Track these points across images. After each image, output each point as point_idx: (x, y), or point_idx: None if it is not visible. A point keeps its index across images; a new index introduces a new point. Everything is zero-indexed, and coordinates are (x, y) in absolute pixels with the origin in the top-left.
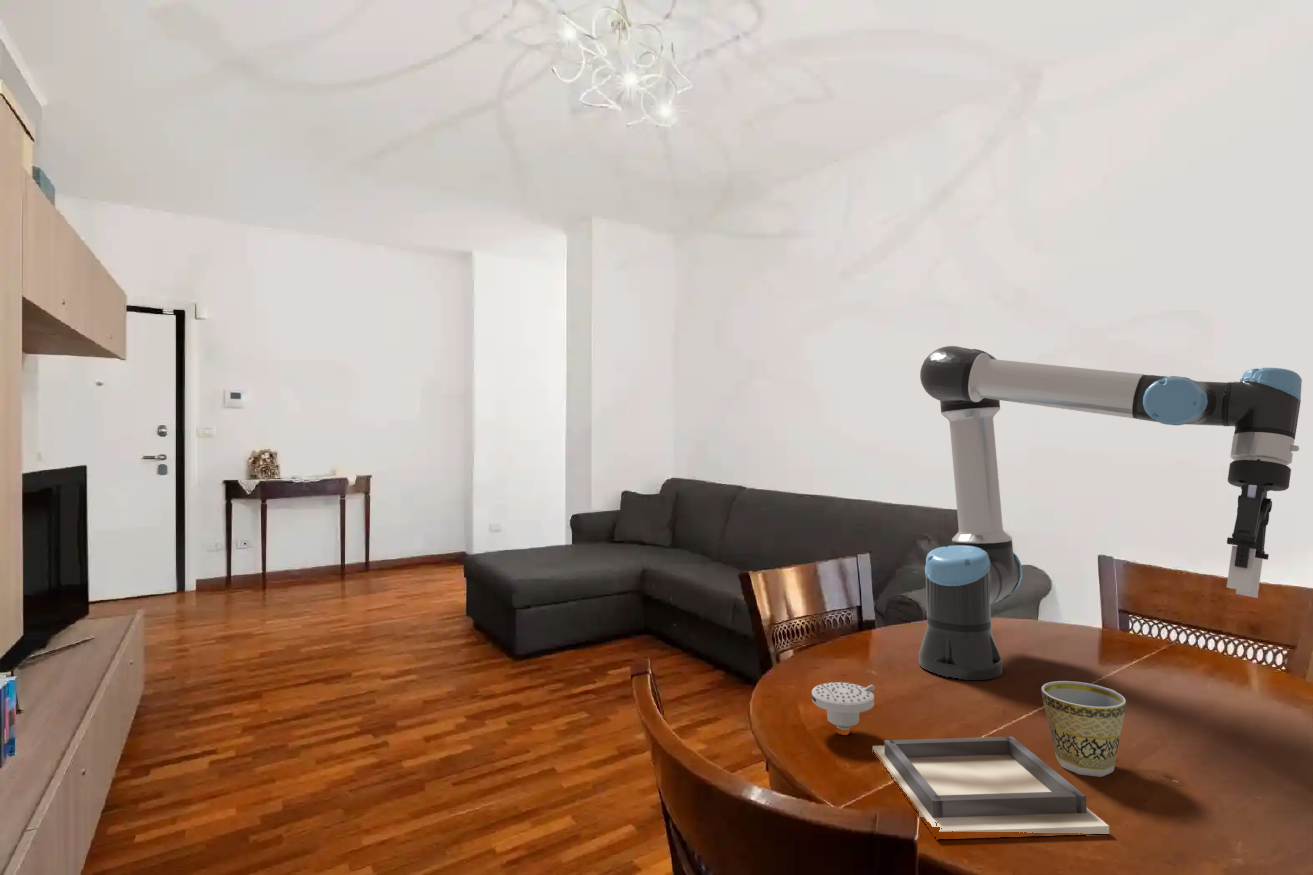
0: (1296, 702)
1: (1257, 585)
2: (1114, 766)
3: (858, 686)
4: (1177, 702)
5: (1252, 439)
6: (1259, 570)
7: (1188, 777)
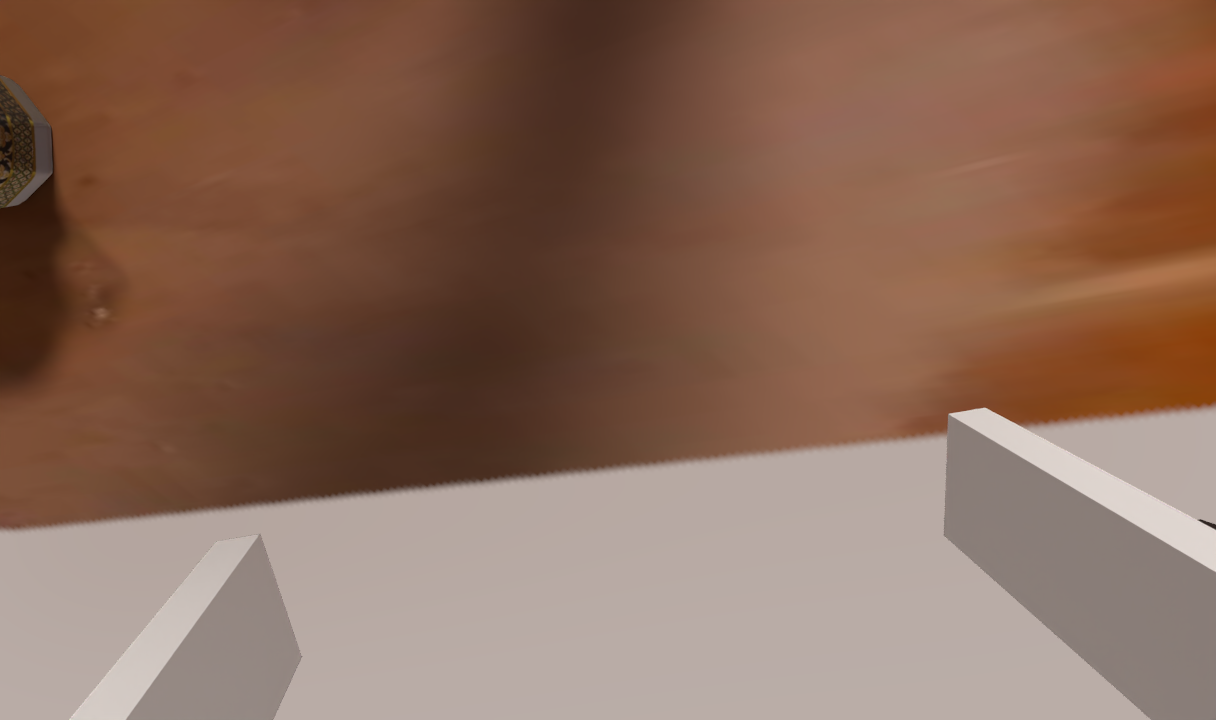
0: None
1: (1011, 590)
2: (7, 206)
3: None
4: (673, 146)
5: None
6: (1147, 704)
7: (141, 329)
